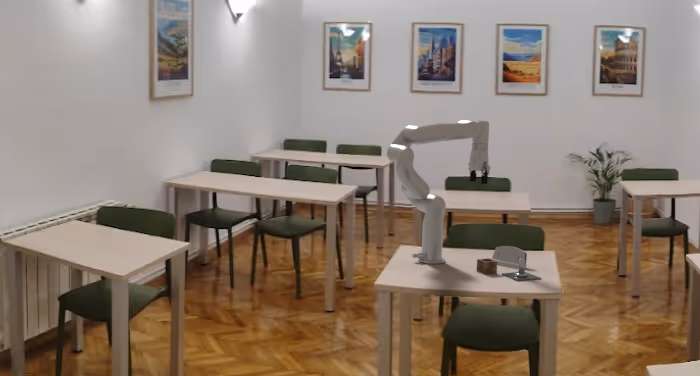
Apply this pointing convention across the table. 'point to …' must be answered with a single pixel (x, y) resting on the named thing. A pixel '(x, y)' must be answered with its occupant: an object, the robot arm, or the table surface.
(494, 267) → the collar
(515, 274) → the post
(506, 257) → the hinge
